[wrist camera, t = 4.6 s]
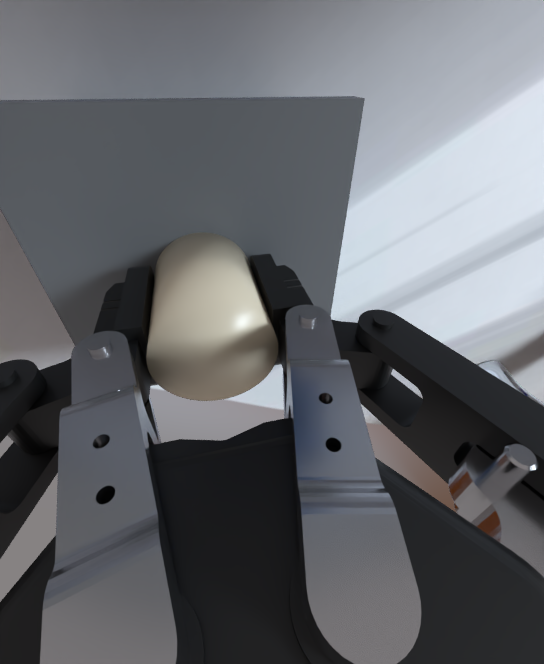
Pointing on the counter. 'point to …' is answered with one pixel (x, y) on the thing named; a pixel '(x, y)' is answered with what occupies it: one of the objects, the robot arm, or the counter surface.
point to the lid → (181, 216)
